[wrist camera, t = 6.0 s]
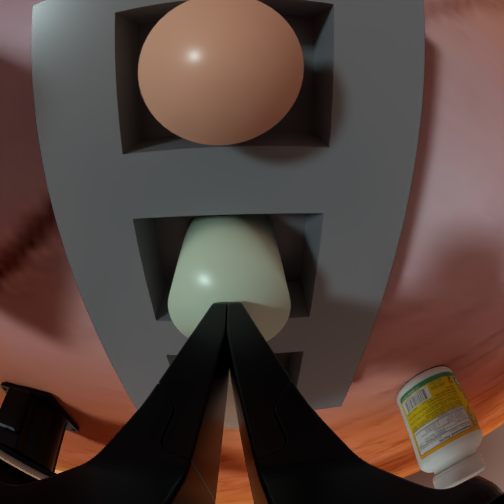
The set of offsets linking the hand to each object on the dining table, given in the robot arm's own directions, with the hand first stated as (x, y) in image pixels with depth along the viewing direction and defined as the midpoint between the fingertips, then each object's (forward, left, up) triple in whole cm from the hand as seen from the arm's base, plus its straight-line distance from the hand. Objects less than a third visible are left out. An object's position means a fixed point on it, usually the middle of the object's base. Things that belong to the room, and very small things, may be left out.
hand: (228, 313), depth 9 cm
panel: (0, 0, -4) cm, 4 cm away
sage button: (0, 0, -4) cm, 4 cm away
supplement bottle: (-14, -15, -5) cm, 21 cm away
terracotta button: (+7, 0, -4) cm, 8 cm away
